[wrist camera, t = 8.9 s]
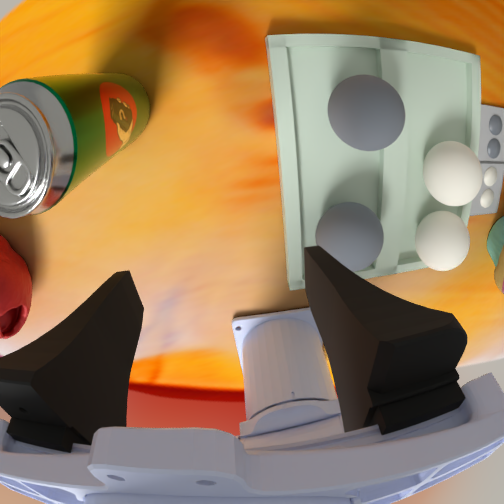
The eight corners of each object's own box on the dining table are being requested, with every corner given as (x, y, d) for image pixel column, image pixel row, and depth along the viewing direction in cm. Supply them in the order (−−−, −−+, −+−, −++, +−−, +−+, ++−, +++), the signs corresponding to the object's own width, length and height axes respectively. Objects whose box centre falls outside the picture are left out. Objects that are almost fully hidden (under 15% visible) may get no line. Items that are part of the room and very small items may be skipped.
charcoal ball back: (366, 245, 23) (390, 279, 19) (309, 253, 23) (324, 291, 19) (369, 189, 21) (399, 216, 17) (307, 195, 21) (325, 225, 17)
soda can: (119, 57, 16) (1, 50, 5) (168, 110, 18) (92, 156, 8) (68, 111, 17) (-58, 164, 7) (114, 161, 19) (17, 254, 9)
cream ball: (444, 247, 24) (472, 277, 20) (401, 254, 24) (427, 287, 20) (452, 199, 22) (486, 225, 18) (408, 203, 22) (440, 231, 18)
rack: (451, 253, 25) (459, 261, 24) (287, 280, 25) (289, 290, 24) (469, 55, 16) (479, 55, 15) (265, 38, 16) (267, 35, 15)
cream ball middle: (454, 190, 21) (488, 214, 17) (409, 193, 21) (442, 220, 17) (459, 135, 19) (498, 152, 15) (412, 133, 19) (450, 150, 15)
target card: (495, 211, 23) (497, 213, 23) (467, 214, 23) (470, 216, 23) (507, 109, 18) (510, 109, 18) (478, 103, 18) (481, 104, 18)
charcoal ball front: (362, 139, 20) (418, 152, 16) (313, 149, 18) (374, 164, 15) (359, 74, 18) (418, 77, 14) (307, 74, 16) (371, 74, 12)
